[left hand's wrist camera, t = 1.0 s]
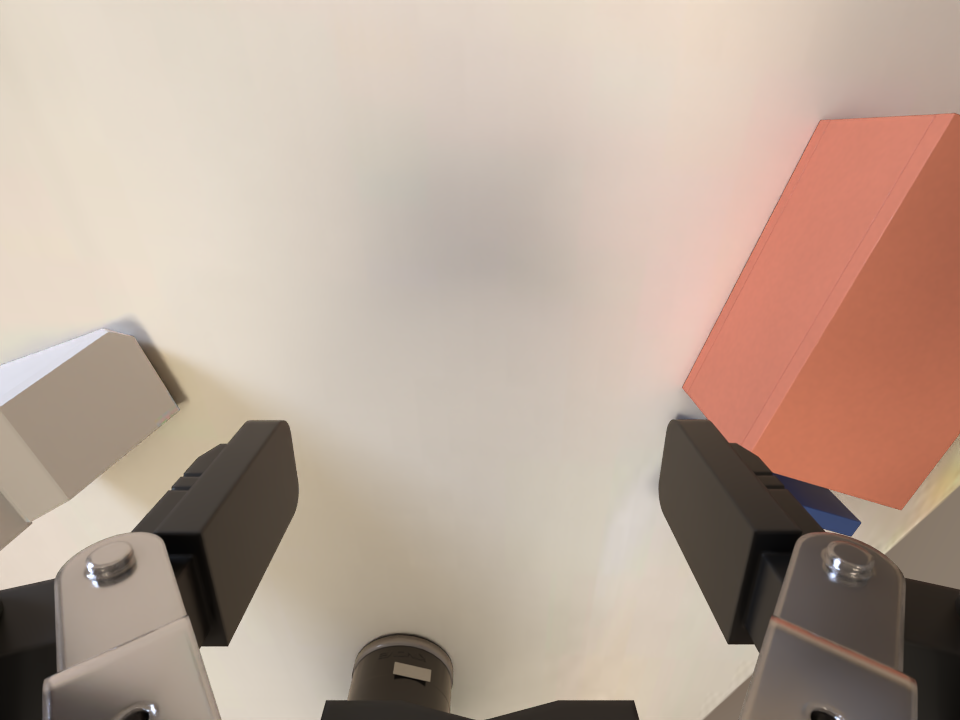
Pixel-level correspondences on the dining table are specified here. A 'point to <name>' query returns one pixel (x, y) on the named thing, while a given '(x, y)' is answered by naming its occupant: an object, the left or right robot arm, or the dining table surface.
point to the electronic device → (71, 420)
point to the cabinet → (849, 314)
